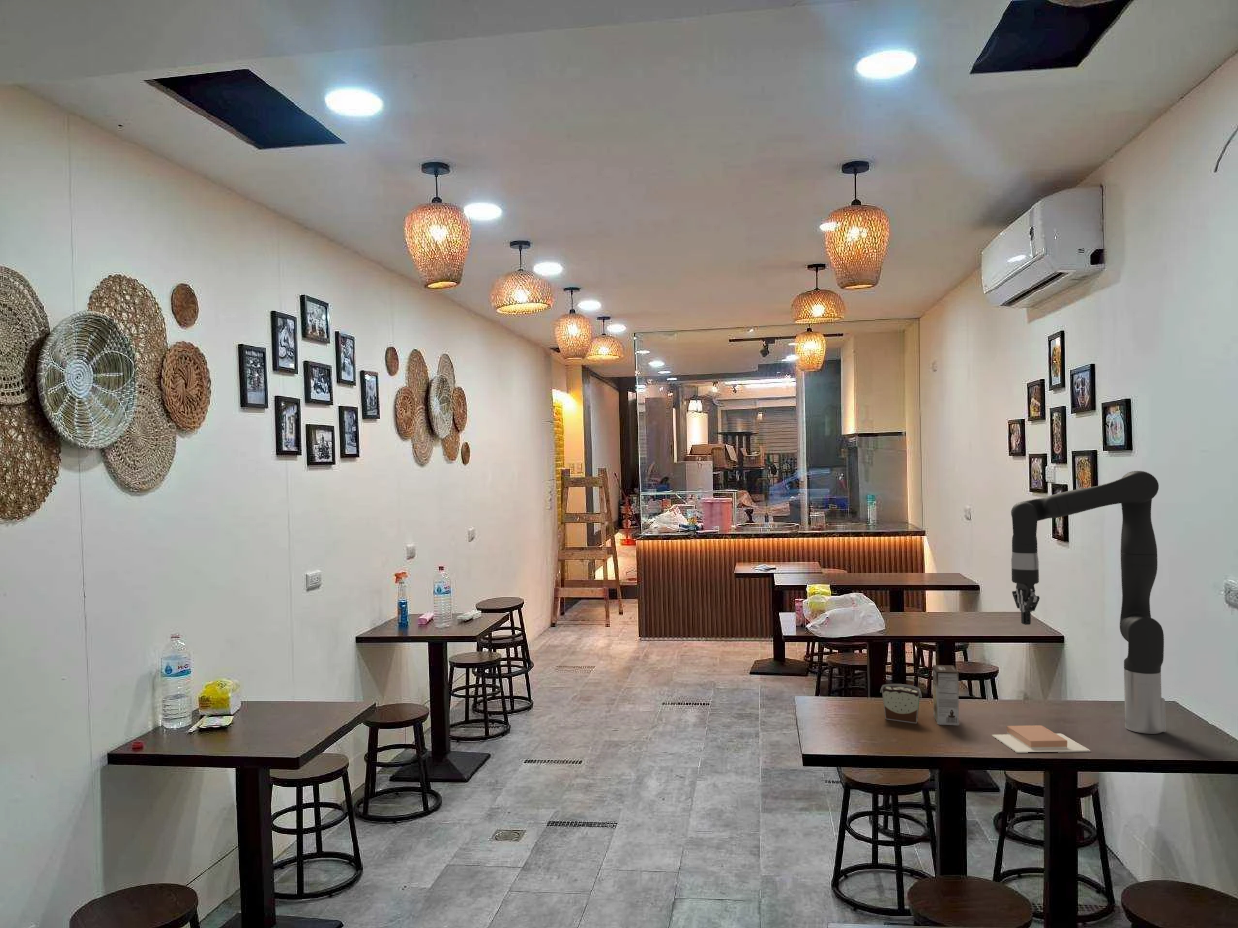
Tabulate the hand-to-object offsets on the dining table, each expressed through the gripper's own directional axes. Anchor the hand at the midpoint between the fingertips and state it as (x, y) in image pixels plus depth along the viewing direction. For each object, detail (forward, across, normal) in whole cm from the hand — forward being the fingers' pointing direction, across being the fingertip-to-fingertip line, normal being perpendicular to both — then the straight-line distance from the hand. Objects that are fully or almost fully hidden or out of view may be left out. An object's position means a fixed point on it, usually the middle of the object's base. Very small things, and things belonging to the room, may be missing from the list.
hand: (1026, 624), depth 261 cm
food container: (+29, +3, +37) cm, 47 cm away
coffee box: (+29, 0, +25) cm, 38 cm away
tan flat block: (+28, -14, +8) cm, 32 cm away
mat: (+29, -23, +8) cm, 38 cm away
